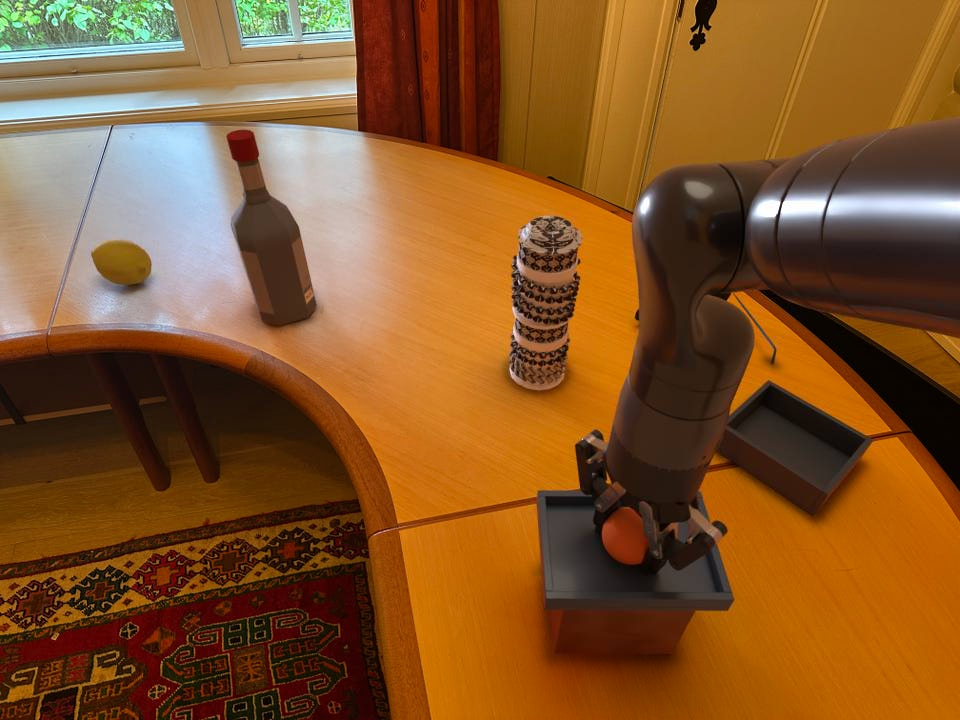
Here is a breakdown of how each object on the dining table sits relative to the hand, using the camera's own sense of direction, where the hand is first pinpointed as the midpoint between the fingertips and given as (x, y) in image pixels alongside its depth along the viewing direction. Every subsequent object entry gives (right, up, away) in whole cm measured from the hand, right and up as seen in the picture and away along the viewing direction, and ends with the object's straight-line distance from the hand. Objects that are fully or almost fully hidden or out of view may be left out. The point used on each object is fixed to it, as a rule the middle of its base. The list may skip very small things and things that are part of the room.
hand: (626, 547), depth 56 cm
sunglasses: (+22, +20, +41) cm, 50 cm away
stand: (0, -10, +9) cm, 13 cm away
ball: (0, +1, -1) cm, 2 cm away
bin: (+27, +5, +24) cm, 37 cm away
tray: (0, -1, +1) cm, 1 cm away
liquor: (-46, +26, +47) cm, 71 cm away
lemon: (-76, +32, +53) cm, 98 cm away
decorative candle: (-5, +16, +36) cm, 40 cm away
